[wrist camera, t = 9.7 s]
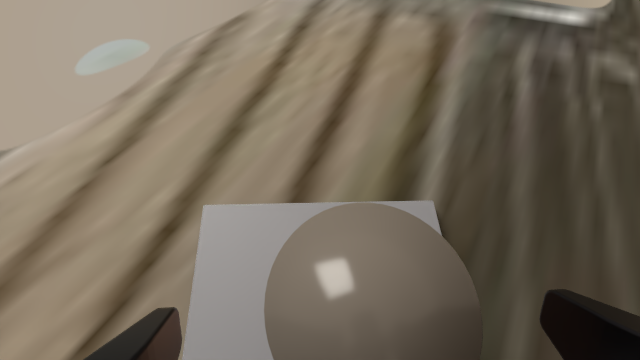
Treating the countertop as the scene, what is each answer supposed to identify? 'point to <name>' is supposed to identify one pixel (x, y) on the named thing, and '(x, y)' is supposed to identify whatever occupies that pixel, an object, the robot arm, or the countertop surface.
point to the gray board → (248, 273)
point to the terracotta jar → (370, 291)
